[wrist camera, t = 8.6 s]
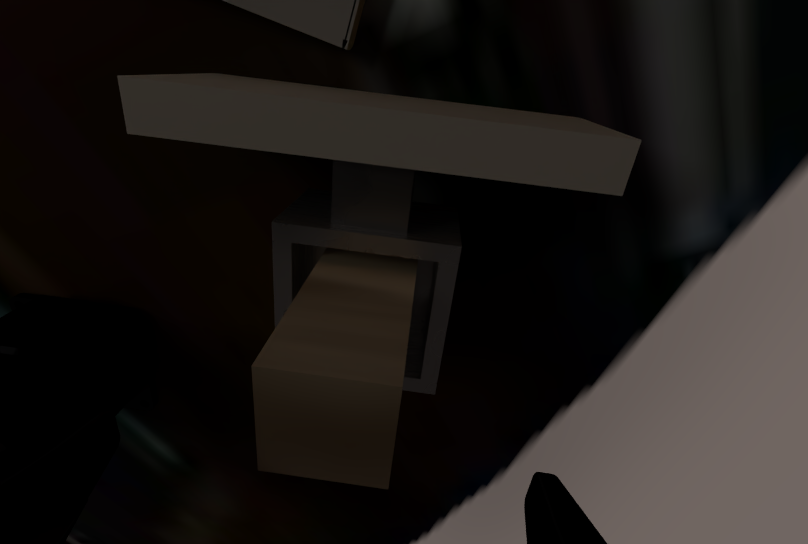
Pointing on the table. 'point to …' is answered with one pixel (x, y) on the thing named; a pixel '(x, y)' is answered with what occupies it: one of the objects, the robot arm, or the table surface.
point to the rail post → (336, 371)
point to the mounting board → (380, 130)
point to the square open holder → (376, 249)
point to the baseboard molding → (312, 17)
